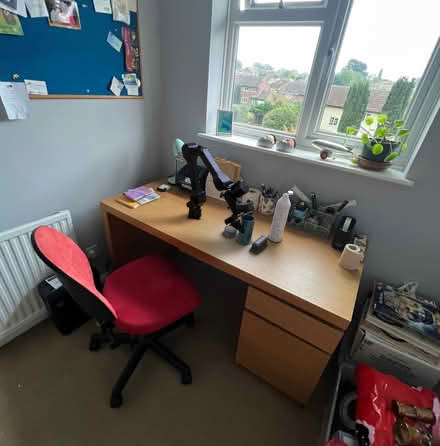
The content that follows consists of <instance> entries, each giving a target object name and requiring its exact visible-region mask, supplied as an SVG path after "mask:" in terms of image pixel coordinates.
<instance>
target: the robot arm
mask: <svg viewBox="0 0 440 446" xmlns="http://www.w3.org/2000/svg"><path fill="white" fill-rule="evenodd" d="M180 150H181V154H182V157H183V159H184V160H185V161H186V164H187V170H188V176H189V182H190V189H191V190H190V194H189V200H188V201H187V202H186V203H185V205H186V206H185V207H186V208H188V216H187V219H193V220H200V219H201V217H202V212H203V208H202V207H203V206H204V204H205V203H206V202H207V198H208V197H207V192H206V191H203V189H202V185H201V179H200V173H199V166H198V158H200V159H201V161H202V163H203V164H204V166H205V167H206V169H207V171H208V172H209V174H210V176H211V177H212V183H213V186H214V188H215V190H217V192H220V194H219V199H222V198H223V199H224V201H225V203H226V204H227V207H226V209H227V210H230V212H231V214H230V215H231V216H229V217H226V218H224V220H223V222H224V224H225V226H228V225H229V226H232V227H233V228H235V229H237V232H241V233H242V234H244V230H243V228H242V226H241V224H240V220H241V216H242V215H245V214H247V215H252V216H253V214H254V212H255V210H256V208H255V206H254V205H255V202H254V201H253V199H252V198H248V199H246V201H244V202H243V200H241V199H240V198H242V197H243V196H245V195H247V194H248V193H249V192H250V187H249V185H248V184H247V183H246V182H245V181H243V180H242V179H238V180H237V181H236V182H235V181H233V180H231V178H230V177H229V176H228V175H227V174H226V173H225V172H223V171H222V170H221V168H220V167H219V165H218V164H217V162H216V161H215V159H214V158H213V156H212V154H211V153H210V151H209V148H208V147H207V146H203V145H201V144H197V143H196V142H187V143H183V144H182V145H181V148H180ZM239 199H240V200H239Z"/></svg>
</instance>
